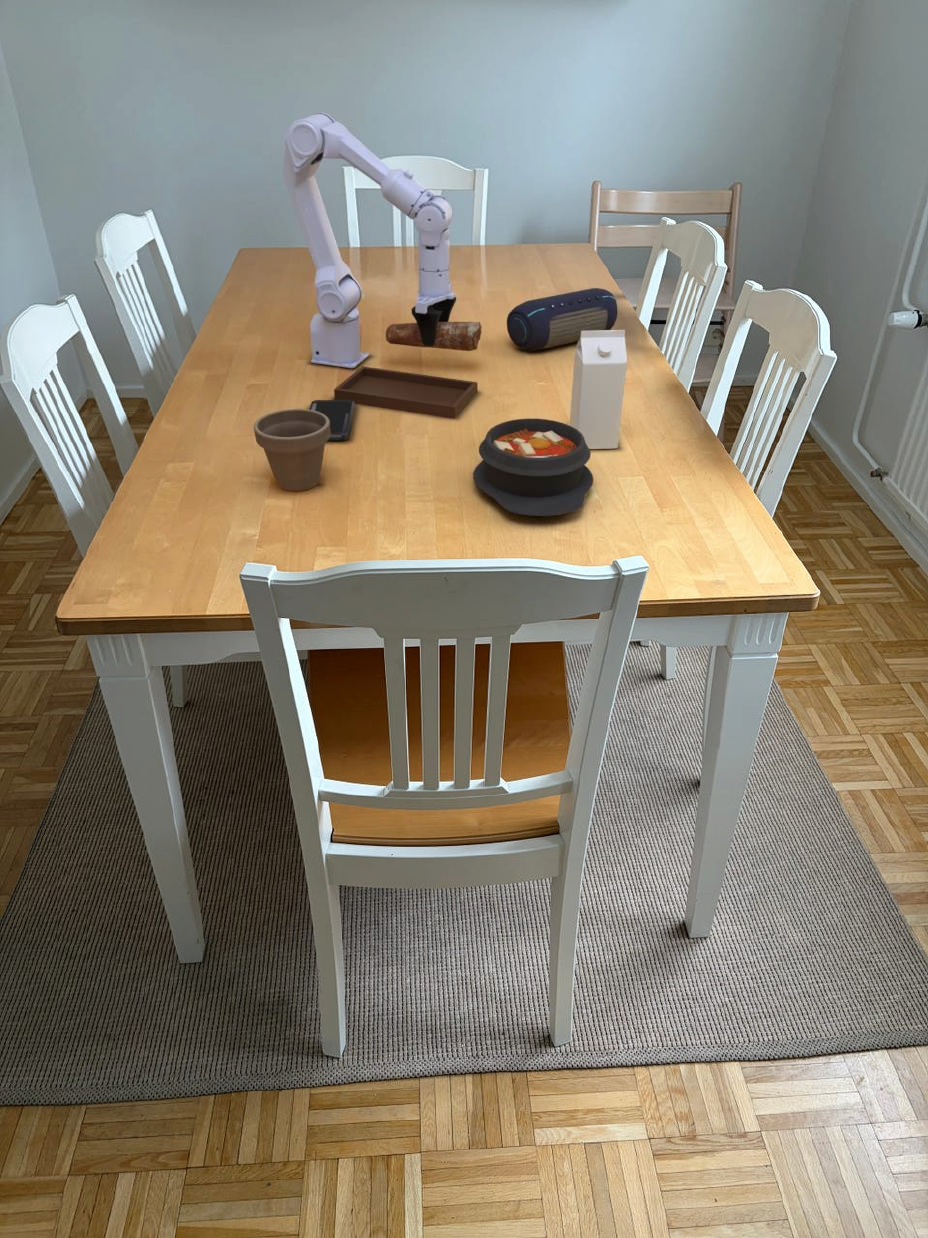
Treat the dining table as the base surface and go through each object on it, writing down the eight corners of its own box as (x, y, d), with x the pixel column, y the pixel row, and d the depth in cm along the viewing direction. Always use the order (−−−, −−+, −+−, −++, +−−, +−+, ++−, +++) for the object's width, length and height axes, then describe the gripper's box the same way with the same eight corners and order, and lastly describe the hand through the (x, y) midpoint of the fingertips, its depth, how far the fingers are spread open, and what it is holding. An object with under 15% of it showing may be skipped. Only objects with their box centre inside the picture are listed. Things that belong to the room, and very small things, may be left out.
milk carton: (568, 432, 165) (577, 323, 154) (608, 431, 165) (620, 322, 154) (575, 450, 159) (585, 338, 148) (617, 449, 160) (630, 337, 149)
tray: (334, 400, 176) (333, 389, 174) (362, 376, 185) (362, 365, 184) (454, 418, 169) (455, 407, 168) (477, 392, 179) (477, 382, 178)
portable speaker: (528, 360, 193) (531, 311, 187) (500, 346, 200) (502, 297, 194) (623, 338, 204) (628, 291, 199) (594, 325, 211) (598, 279, 205)
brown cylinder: (478, 356, 182) (479, 327, 179) (382, 347, 186) (381, 319, 182) (484, 345, 187) (485, 316, 184) (391, 336, 191) (390, 309, 187)
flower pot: (264, 466, 153) (257, 407, 147) (335, 464, 154) (331, 406, 148) (257, 500, 144) (249, 439, 138) (332, 498, 144) (328, 437, 139)
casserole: (608, 524, 139) (614, 472, 134) (482, 529, 137) (483, 477, 132) (575, 450, 159) (579, 403, 154) (465, 454, 157) (465, 406, 153)
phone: (301, 434, 160) (312, 399, 172) (302, 440, 161) (312, 405, 173) (348, 434, 160) (355, 399, 172) (349, 440, 161) (356, 405, 173)
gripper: (440, 280, 171) (440, 354, 179) (466, 260, 182) (465, 330, 190) (404, 276, 173) (405, 349, 181) (432, 256, 184) (432, 326, 192)
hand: (434, 339), depth 185 cm, fingers closed on brown cylinder, 6 cm apart
